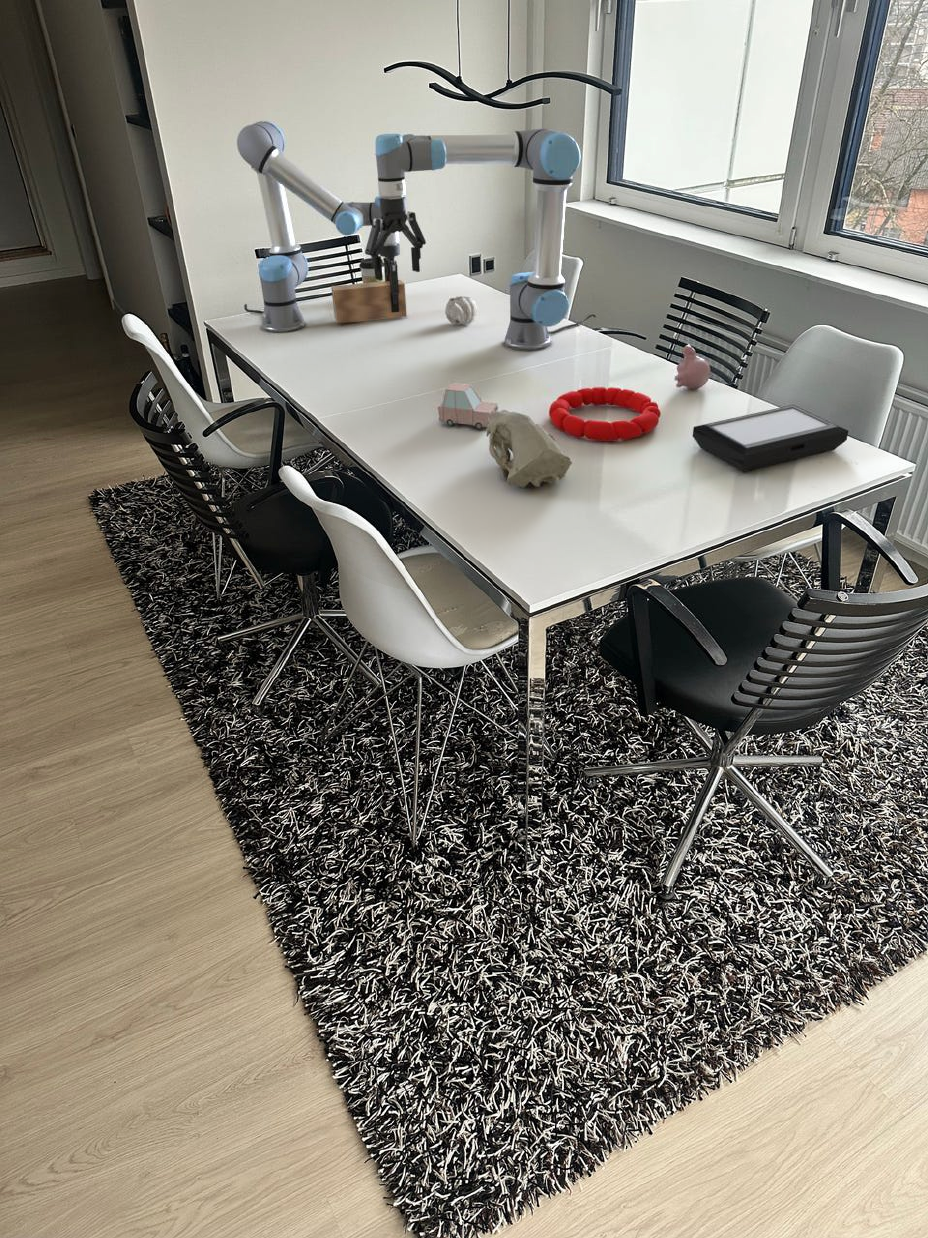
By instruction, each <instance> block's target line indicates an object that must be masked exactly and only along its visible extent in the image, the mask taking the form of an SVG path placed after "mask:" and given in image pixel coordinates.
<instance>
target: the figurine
mask: <svg viewBox="0 0 928 1238" xmlns="http://www.w3.org/2000/svg"><path fill="white" fill-rule="evenodd" d="M682 354H683V358H684V359H683V361H682V362H679V363H678V364H677V365H676V372H677V375H675V376H674V381H675V382H676V381H677V382H676V384H675V386H676V388H681V387H686V388H688V389H693V390H694V389H695V390H696V389H700V388H703V387H704V386H705V385H706V384H707V383H708V382H709V379H710V377H711V367H710V364H709V362H708V361H706V359H704V358H702V357H700V356H697V353H696V350H695V349H694V347H692V345H690V344H686V345H685V346H684V347H683V348H682Z"/></svg>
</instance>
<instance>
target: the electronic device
mask: <svg viewBox="0 0 928 1238" xmlns="http://www.w3.org/2000/svg"><path fill="white" fill-rule="evenodd" d="M849 432H850V431H849V430H848V429H847V428H844V427H841V426H839V425H838V424H836V423H834V422H831V421H829V420H827V419H825V418H822V417H821V416H819V415H816V414H814V413H812V412H810V411H808V410H806V409H804V408H802V407H799V406H797V405H795V404H790V405H786V406H781V407H778V408H771V409H768V410H763V411H759V412H755V413H749V414H745V415H741V416H736V417H731V418H727V419H722V420H718V421H714V422H709V423H704V424H700V425H696V426H693V428H692V437H693V439H694V440H695V442H696V443H697V445H698V447H699V448H700V449H702V450H704V451H705V452H707V453H709V454H710V455H712V456H714V457H715V458H718V459H720V461H723V462H724V463H726V464H728V465H730V466H732V467H734V468H735V469H736V470H738V471H739V472H741V473H745V472H747V471H752V470H756V469H760V468H764V467H765V468H766V467H769V466H772V465H778V464H781V463H784V462H789V461H794V460H798V459H801V458H805V457H809V456H814V455H817V454H822V453H825V452H830V451H834V450H836V449H837V448H839V447H840V446H841V445H843V444H844V443H845V442H846V441H847V440H848V435H849Z"/></svg>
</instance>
